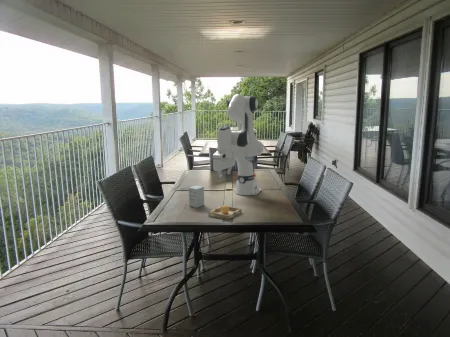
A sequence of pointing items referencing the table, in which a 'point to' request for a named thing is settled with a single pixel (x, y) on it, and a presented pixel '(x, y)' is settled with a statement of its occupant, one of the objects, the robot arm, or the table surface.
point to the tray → (227, 216)
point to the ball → (225, 209)
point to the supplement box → (196, 196)
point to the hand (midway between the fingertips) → (224, 175)
